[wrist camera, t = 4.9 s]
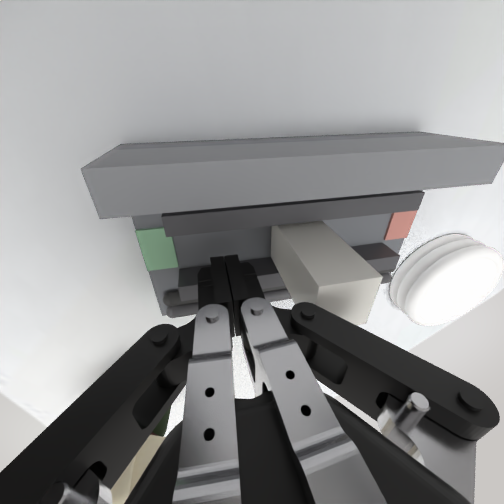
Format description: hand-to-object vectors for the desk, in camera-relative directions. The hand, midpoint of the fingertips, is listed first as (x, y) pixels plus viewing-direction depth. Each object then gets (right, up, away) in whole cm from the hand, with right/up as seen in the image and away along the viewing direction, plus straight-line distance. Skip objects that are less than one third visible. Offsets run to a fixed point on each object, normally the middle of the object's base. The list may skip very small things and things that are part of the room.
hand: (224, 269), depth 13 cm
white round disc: (+21, -1, +13) cm, 25 cm away
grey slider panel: (+4, +3, +5) cm, 7 cm away
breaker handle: (+4, +2, +4) cm, 6 cm away
